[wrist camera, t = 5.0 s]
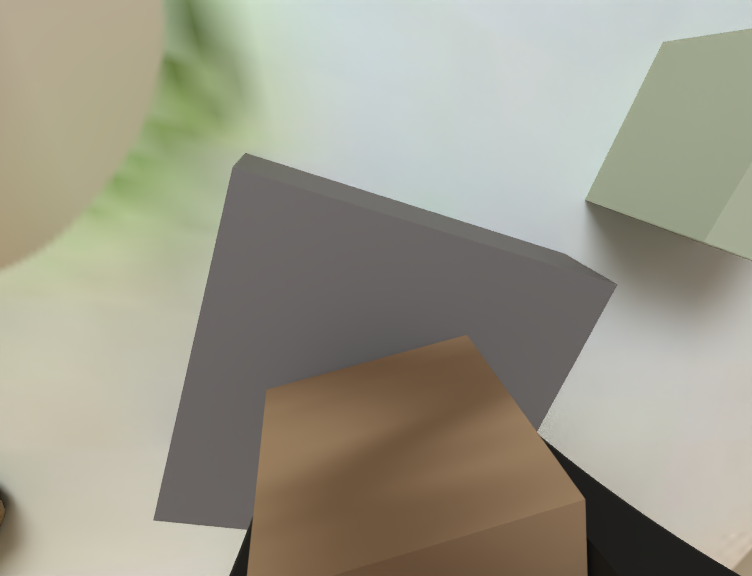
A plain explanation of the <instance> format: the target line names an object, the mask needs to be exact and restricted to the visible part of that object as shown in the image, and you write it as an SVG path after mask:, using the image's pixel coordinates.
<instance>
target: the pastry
mask: <svg viewBox="0 0 752 576" xmlns="http://www.w3.org/2000/svg"><path fill="white" fill-rule="evenodd" d="M4 515H5V508H4V506H3V503H2V501H1V500H0V525H1V522H2V520H3V517H4Z"/></svg>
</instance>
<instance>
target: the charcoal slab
mask: <svg viewBox="0 0 752 576" xmlns="http://www.w3.org/2000/svg"><path fill="white" fill-rule="evenodd" d="M616 286H617V284H615V283H614V282H612V281H610V280H609V279H607V278H605V277H604V276H602V275H600V274H598V273H597V272H595V271H593V270H592V269H590V268H588V267H586V266H585V265H583V264H581V263H580V262H578V261H576V260H574V259H573V258H571V257H569V256H568V255H566V254H564V253H560V252H557V251H554V250H551V249H548V248H545V247H541V246H538V245H535V244H532V243H529V242H526V241H522V240H519V239H516V238H513V237H510V236H507V235H503V234H500V233H497V232H494V231H491V230H488V229H484V228H481V227H478V226H475V225H472V224H469V223H465V222H462V221H459V220H456V219H453V218H450V217H446V216H443V215H440V214H437V213H434V212H431V211H427V210H424V209H421V208H418V207H415V206H412V205H408V204H405V203H402V202H399V201H396V200H393V199H389V198H386V197H383V196H380V195H377V194H374V193H370V192H367V191H364V190H361V189H358V188H355V187H351V186H348V185H345V184H342V183H339V182H336V181H332V180H329V179H326V178H323V177H320V176H317V175H313V174H310V173H307V172H304V171H301V170H298V169H294V168H291V167H288V166H285V165H282V164H279V163H275V162H272V161H269V160H266V159H263V158H260V157H256V156H253V155H250V154H247V153H245V154H244V155H243V156H242V157H241V159H240V160H239V161H238V162H237V163H236V164H235V165H234V166H233V168H232V173H231V177H230V181H229V186H228V190H227V195H226V199H225V204H224V208H223V213H222V217H221V222H220V226H219V230H218V235H217V239H216V244H215V248H214V253H213V257H212V262H211V266H210V271H209V275H208V279H207V284H206V288H205V293H204V297H203V302H202V306H201V311H200V315H199V320H198V324H197V328H196V333H195V337H194V342H193V346H192V351H191V355H190V360H189V364H188V369H187V373H186V377H185V382H184V386H183V391H182V395H181V400H180V404H179V409H178V413H177V418H176V422H175V426H174V431H173V435H172V440H171V444H170V449H169V453H168V458H167V462H166V467H165V471H164V475H163V480H162V484H161V489H160V493H159V498H158V502H157V507H156V511H155V516H154V520H155V521H165V522H175V523H185V524H195V525H205V526H215V527H225V528H236V529H246V530H248V527H249V525H250V522H251V519H252V517H253V513H254V503H255V494H256V484H257V475H258V465H259V455H260V446H261V436H262V427H263V417H264V407H265V398H266V390H267V389H270V388H274V387H278V386H281V385H285V384H289V383H292V382H296V381H300V380H303V379H307V378H311V377H314V376H318V375H322V374H325V373H329V372H333V371H336V370H340V369H343V368H347V367H351V366H354V365H358V364H362V363H365V362H369V361H373V360H376V359H380V358H384V357H387V356H391V355H395V354H398V353H402V352H406V351H409V350H413V349H417V348H420V347H424V346H428V345H431V344H435V343H439V342H442V341H446V340H449V339H453V338H457V337H460V336H464V335H468V337H469V338H470V340H471V341H472V342H473V344H474V345H475V347H476V348H477V349H478V351H479V352H480V354H481V355H482V356H483V358H484V359H485V360H486V362H487V363H488V365H489V366H490V367H491V369H492V370H493V372H494V373H495V374H496V376H497V377H498V379H499V380H500V381H501V383H502V384H503V386H504V387H505V388H506V390H507V391H508V392H509V394H510V395H511V397H512V398H513V399H514V401H515V402H516V404H517V405H518V406H519V408H520V409H521V411H522V412H523V413H524V415H525V416H526V418H527V419H528V420H529V422H530V423H531V424H532V426H533V427H534V429H535V430H536V431H537V430H538V429H539V427H540V425H541V423H542V421H543V419H544V418H545V416H546V414H547V412H548V410H549V408H550V407H551V405H552V403H553V401H554V399H555V397H556V396H557V394H558V392H559V390H560V388H561V387H562V385H563V383H564V381H565V379H566V377H567V376H568V374H569V372H570V370H571V368H572V366H573V365H574V363H575V361H576V359H577V357H578V355H579V354H580V352H581V350H582V348H583V346H584V344H585V343H586V341H587V339H588V337H589V335H590V334H591V332H592V330H593V328H594V326H595V324H596V323H597V321H598V319H599V317H600V315H601V313H602V312H603V310H604V308H605V306H606V304H607V302H608V301H609V299H610V297H611V295H612V293H613V291H614V290H615V288H616Z"/></svg>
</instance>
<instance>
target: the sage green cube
mask: <svg viewBox="0 0 752 576" xmlns="http://www.w3.org/2000/svg"><path fill="white" fill-rule="evenodd" d="M585 200H586V201H589V202H592V203H595V204H597V205H600V206H603V207H605V208H608V209H611V210H614V211H616V212H619V213H622V214H625V215H627V216H630V217H633V218H635V219H638V220H641V221H644V222H646V223H649V224H652V225H654V226H657V227H660V228H663V229H665V230H668V231H671V232H673V233H676V234H679V235H682V236H684V237H687V238H690V239H692V240H695V241H698V242H701V243H704V244H706V245H709V246H712V247H715V248H717V249H720V250H723V251H726V252H729V253H731V254H734V255H737V256H740V257H743V258H745V259H748V260H751V261H752V29H746V30H739V31H733V32H726V33H720V34H713V35H706V36H700V37H693V38H687V39H680V40H674V41H667V42H663V43H662V45H661V47H660V49H659V51H658V53H657V55H656V57H655V59H654V61H653V63H652V65H651V67H650V69H649V71H648V73H647V75H646V77H645V79H644V81H643V84H642V86H641V88H640V90H639V92H638V94H637V96H636V98H635V100H634V102H633V104H632V106H631V108H630V110H629V112H628V114H627V116H626V118H625V120H624V122H623V124H622V126H621V128H620V130H619V132H618V134H617V136H616V138H615V140H614V142H613V144H612V146H611V148H610V150H609V152H608V154H607V156H606V158H605V160H604V162H603V164H602V166H601V168H600V171H599V173H598V175H597V177H596V179H595V181H594V183H593V185H592V187H591V189H590V191H589V193H588V195H587V197H586V199H585Z"/></svg>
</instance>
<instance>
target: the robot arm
mask: <svg viewBox="0 0 752 576" xmlns="http://www.w3.org/2000/svg"><path fill="white" fill-rule="evenodd" d="M539 436H540V435H539ZM540 437H541V436H540ZM541 438H542V437H541ZM542 440H543V441H544V443H545V444H546V445H547V447H548V448H549V450H550V451H551V452H552V454H553V455H554V456H555V458H556V459H557V461H558V462H559V463H560V465H561V466H562V468H563V469H564V470H565V472H566V473H567V475H568V476H569V477H570V479H571V480H572V482H573V483H574V484H575V486H576V487H577V488H578V490H579V491H580V493H581V494H582V495H583V497H584V498H585V508H586V542H587V576H740V575H738V574H737V573H735V572H733V571H732V570H730V569H728V568H727V567H725V566H723V565H722V564H720V563H718V562H717V561H715V560H713V559H712V558H710V557H708V556H707V555H705V554H703V553H702V552H700V551H699V550H697V549H695V548H694V547H692V546H691V545H689V544H688V543H686V542H684V541H683V540H681V539H680V538H678V537H677V536H675V535H674V534H672V533H671V532H669V531H668V530H666V529H665V528H663V527H662V526H660V525H659V524H657V523H656V522H654V521H653V520H651V519H650V518H648V517H647V516H645V515H644V514H642V513H641V512H639V511H638V510H637V509H635V508H634V507H632V506H631V505H629V504H628V503H627V502H625V501H624V500H622V499H621V498H620V497H618V496H617V495H616V494H614V493H613V492H611V491H610V490H609V489H607V488H606V487H605V486H603V485H602V484H600V483H599V482H598V481H596V480H595V479H594V478H592V477H591V476H590V475H588V474H587V473H586V472H584V471H583V470H582V469H581V468H579V467H578V466H577V465H575V464H574V463H573V462H572V461H570V460H569V459H568V458H567V457H565V456H564V455H563V454H562V453H560V452H559V451H558V450H557V449H555V448H554V447H553V446H552V445H550V444H549V443H548V442H547V441H546V440H544V439H543V438H542ZM252 522H253V517H252V519H251V522H250V525H249V527H248V530H247V533H246V535H245V538H244V540H243V543H242V546H241V548H240V551H239V553H238V556H237V558H236V561H235V563H234V566H233V568H232V571H231V573H230V575H229V576H247V570H248V561H249V551H250V542H251V532H252Z"/></svg>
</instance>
